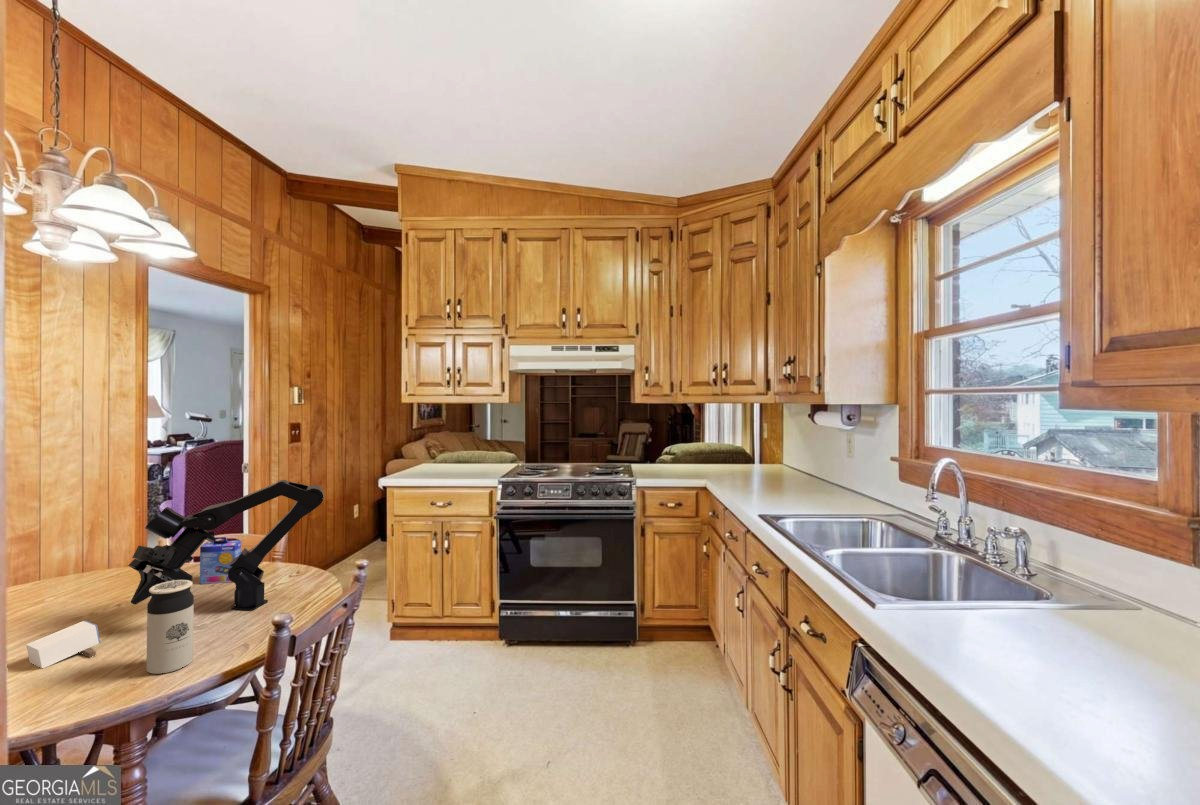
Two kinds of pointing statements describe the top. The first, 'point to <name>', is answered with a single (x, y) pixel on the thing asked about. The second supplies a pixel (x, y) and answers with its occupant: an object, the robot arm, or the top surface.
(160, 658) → the beige jar
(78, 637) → the plain white block
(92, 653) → the strip
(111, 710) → the top surface
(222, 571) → the ink cartridge box
